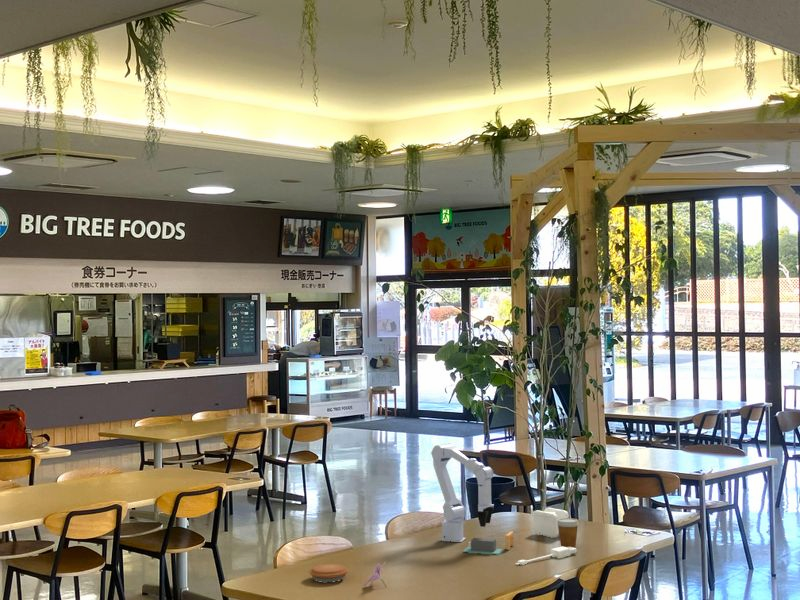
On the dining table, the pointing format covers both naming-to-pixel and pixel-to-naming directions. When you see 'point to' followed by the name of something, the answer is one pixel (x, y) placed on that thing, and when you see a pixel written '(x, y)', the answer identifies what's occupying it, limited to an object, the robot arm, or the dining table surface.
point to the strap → (509, 540)
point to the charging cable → (553, 554)
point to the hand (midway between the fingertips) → (485, 524)
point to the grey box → (482, 544)
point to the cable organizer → (547, 521)
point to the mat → (483, 552)
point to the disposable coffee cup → (568, 531)
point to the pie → (328, 572)
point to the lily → (376, 574)
